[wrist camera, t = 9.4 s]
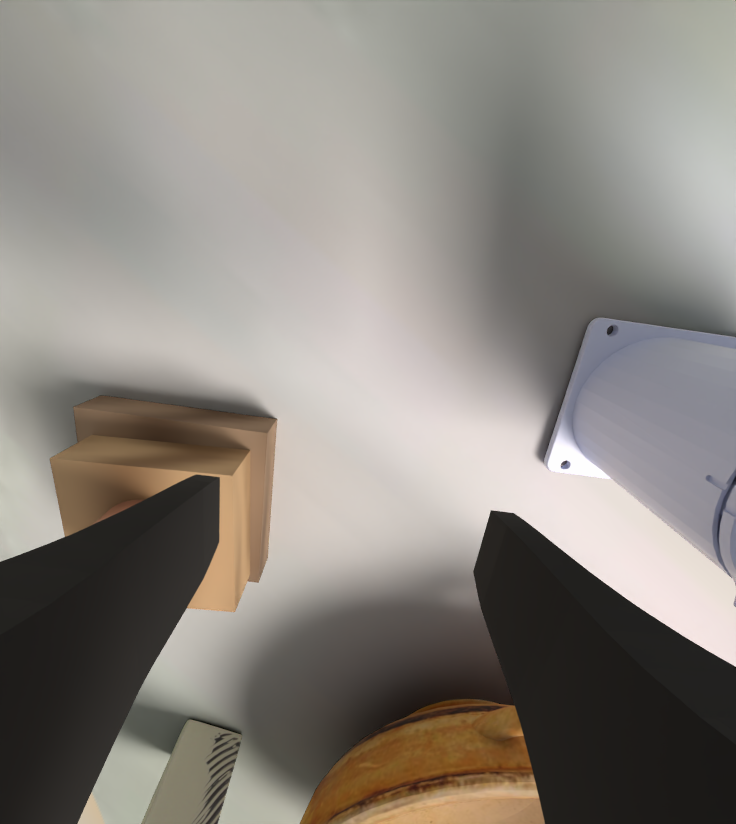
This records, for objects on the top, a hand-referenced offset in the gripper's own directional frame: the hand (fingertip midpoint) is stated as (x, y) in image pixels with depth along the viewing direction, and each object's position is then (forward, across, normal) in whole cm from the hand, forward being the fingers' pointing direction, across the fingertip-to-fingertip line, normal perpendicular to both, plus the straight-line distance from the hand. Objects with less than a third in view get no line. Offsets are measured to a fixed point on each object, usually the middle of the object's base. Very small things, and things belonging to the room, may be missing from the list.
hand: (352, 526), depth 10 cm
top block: (+8, +9, +6) cm, 13 cm away
